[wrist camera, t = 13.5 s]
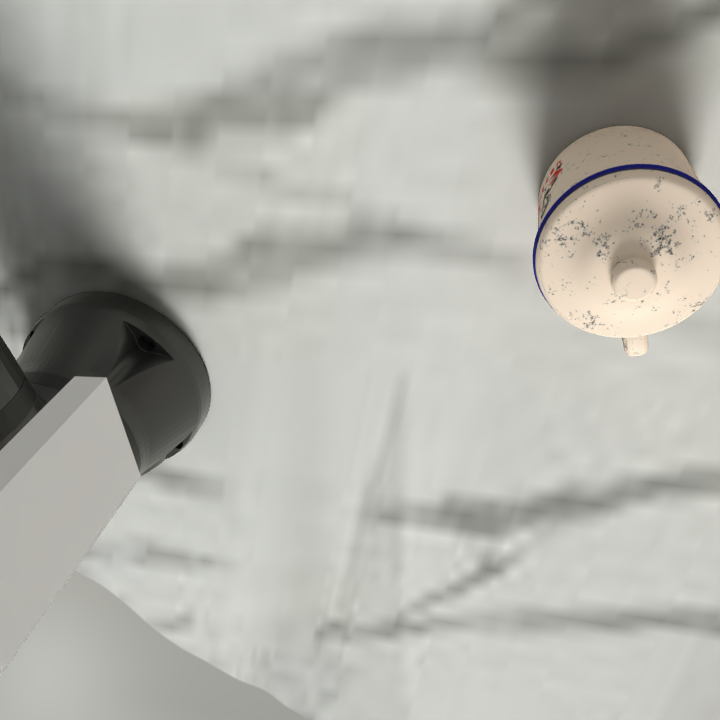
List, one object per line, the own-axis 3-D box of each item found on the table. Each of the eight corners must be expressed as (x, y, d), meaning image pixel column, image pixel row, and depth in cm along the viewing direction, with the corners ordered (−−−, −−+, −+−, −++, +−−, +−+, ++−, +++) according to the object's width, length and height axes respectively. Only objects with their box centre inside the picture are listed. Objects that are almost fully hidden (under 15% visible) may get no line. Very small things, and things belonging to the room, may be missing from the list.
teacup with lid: (522, 140, 40) (516, 211, 31) (692, 100, 37) (743, 165, 28) (554, 318, 46) (556, 424, 36) (704, 296, 43) (750, 405, 33)
